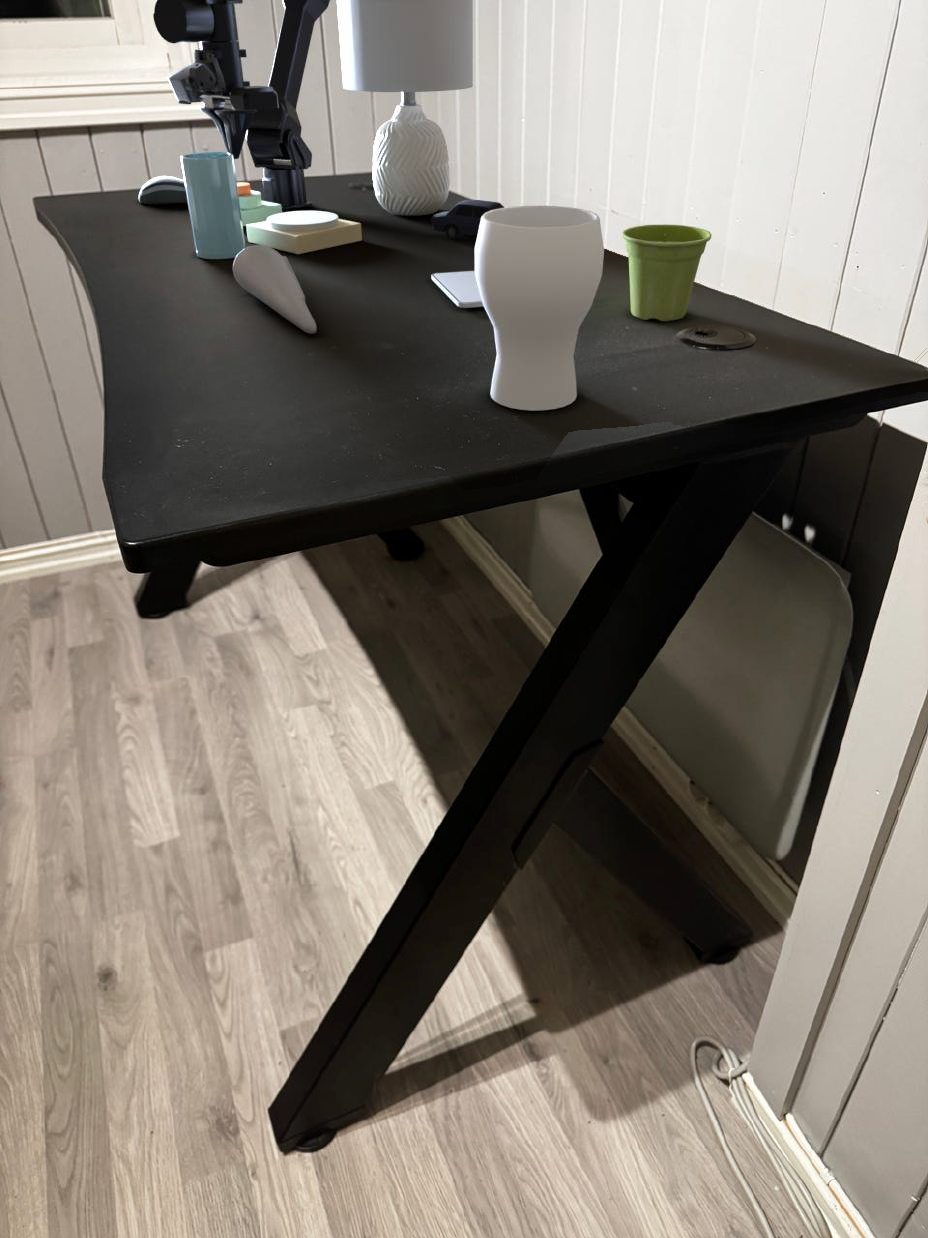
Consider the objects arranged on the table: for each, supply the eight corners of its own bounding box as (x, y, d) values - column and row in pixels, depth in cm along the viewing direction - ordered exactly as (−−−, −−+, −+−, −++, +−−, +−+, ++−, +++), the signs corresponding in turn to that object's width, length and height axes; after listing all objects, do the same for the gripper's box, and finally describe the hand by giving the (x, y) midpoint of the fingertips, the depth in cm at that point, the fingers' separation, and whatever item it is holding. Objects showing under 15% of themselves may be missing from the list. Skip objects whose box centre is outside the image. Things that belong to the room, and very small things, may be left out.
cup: (514, 368, 87) (519, 199, 79) (613, 389, 82) (629, 212, 74) (451, 401, 80) (448, 219, 72) (555, 427, 75) (565, 235, 67)
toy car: (516, 246, 130) (517, 209, 128) (428, 236, 136) (428, 200, 133) (533, 238, 135) (534, 202, 132) (447, 229, 141) (447, 194, 138)
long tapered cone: (258, 356, 95) (233, 292, 109) (318, 356, 98) (286, 293, 111) (259, 302, 92) (232, 243, 106) (321, 304, 94) (287, 245, 108)
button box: (254, 212, 153) (250, 186, 151) (283, 218, 148) (280, 192, 146) (203, 221, 147) (199, 194, 145) (231, 228, 142) (227, 200, 140)
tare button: (242, 193, 148) (241, 181, 147) (256, 195, 146) (254, 183, 145) (224, 196, 146) (222, 184, 145) (237, 198, 143) (235, 186, 142)
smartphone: (485, 269, 117) (521, 298, 105) (485, 274, 117) (520, 304, 105) (429, 273, 115) (459, 303, 103) (429, 278, 116) (459, 309, 103)
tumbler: (227, 245, 132) (214, 150, 125) (255, 253, 128) (242, 154, 121) (187, 253, 128) (170, 155, 121) (214, 261, 124) (198, 160, 117)
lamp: (417, 197, 164) (408, -56, 143) (497, 211, 152) (501, -62, 131) (327, 212, 152) (304, -60, 132) (407, 229, 140) (395, -68, 120)
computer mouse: (209, 202, 161) (205, 177, 158) (137, 205, 159) (132, 180, 156) (209, 195, 166) (206, 171, 164) (140, 198, 164) (136, 174, 162)
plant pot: (649, 331, 97) (658, 246, 92) (599, 309, 104) (605, 229, 99) (717, 319, 100) (730, 236, 95) (664, 299, 107) (673, 220, 102)
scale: (311, 229, 141) (309, 206, 140) (362, 240, 135) (360, 216, 133) (247, 241, 134) (244, 217, 132) (297, 254, 127) (295, 229, 126)
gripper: (137, 41, 134) (157, 158, 143) (208, 44, 124) (225, 170, 132) (201, 39, 141) (217, 151, 150) (274, 41, 130) (286, 162, 139)
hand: (234, 158), depth 142 cm, fingers closed
